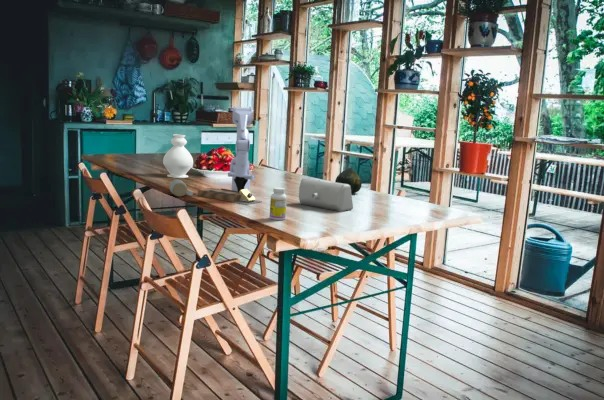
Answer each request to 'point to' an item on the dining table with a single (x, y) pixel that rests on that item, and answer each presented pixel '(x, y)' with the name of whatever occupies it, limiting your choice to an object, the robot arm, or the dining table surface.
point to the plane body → (221, 194)
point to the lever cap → (247, 195)
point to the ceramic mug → (179, 188)
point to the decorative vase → (178, 158)
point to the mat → (246, 202)
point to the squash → (350, 179)
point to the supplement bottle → (278, 204)
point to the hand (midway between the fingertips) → (240, 193)
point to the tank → (325, 194)
